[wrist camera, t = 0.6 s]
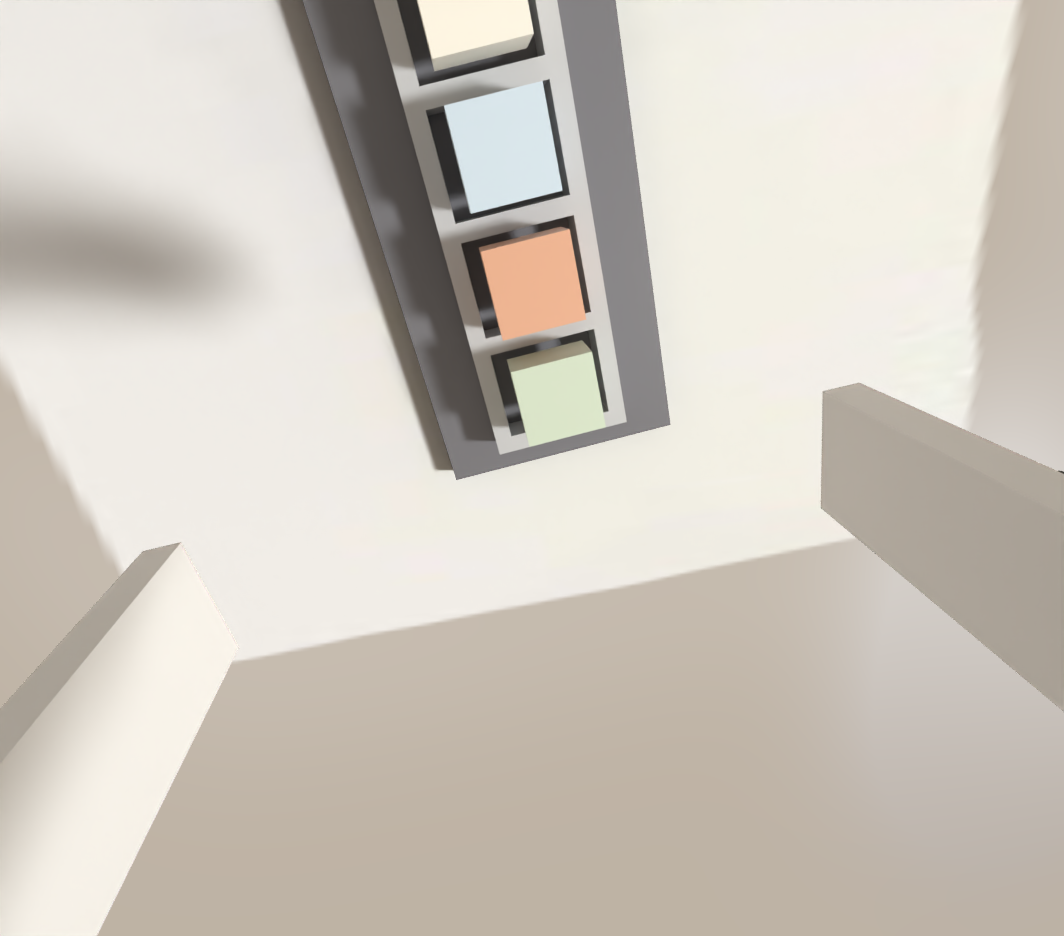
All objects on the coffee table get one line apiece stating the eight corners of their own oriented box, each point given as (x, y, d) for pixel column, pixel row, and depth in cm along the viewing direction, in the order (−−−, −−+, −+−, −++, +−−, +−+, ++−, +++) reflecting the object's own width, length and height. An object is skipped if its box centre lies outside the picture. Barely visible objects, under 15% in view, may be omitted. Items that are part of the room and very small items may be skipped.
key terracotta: (478, 247, 25) (480, 251, 23) (560, 226, 25) (569, 229, 23) (499, 330, 26) (503, 340, 24) (576, 310, 26) (586, 319, 24)
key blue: (445, 113, 23) (443, 105, 21) (534, 90, 23) (542, 80, 21) (469, 212, 24) (471, 213, 22) (553, 191, 24) (562, 190, 22)
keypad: (281, -79, 22) (257, -118, 19) (586, -154, 22) (604, -203, 20) (456, 470, 33) (456, 495, 30) (663, 417, 33) (681, 436, 30)
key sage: (506, 359, 27) (511, 372, 25) (582, 340, 27) (592, 351, 25) (524, 429, 28) (529, 446, 26) (595, 411, 28) (605, 427, 27)
